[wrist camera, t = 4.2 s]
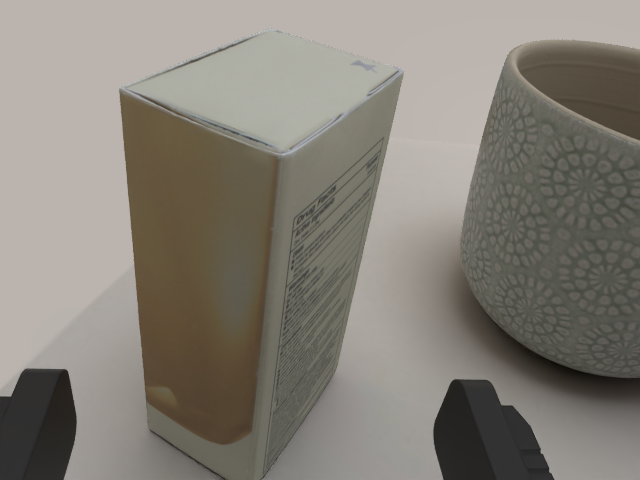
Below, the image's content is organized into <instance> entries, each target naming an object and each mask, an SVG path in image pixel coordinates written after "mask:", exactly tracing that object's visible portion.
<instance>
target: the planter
mask: <svg viewBox="0 0 640 480" xmlns="http://www.w3.org/2000/svg"><path fill="white" fill-rule="evenodd" d="M460 249H461V261H462V266H463V270H464V274H465V277H466V279H467V282H468V284H469V287H470V289H471V290H472V292H473V294H474V296H475V297H476V299H477V301H478V302H479V303H480V305H481V306H482V308H483V309H484V310H485V311H486V313H487V314H488V315H489V316H490V317H491V318H492V320H493V321H494V322H495V323H496V324H497V325H498V326H499V327H501V328H502V329H503V330H504V331H505V332H506V333H507V334H509V335H510V336H511V337H512V338H514V339H515V340H516V341H518V342H519V343H520V344H522V345H523V346H525V347H526V348H528V349H530V350H531V351H533V352H535V353H537V354H538V355H540V356H542V357H544V358H546V359H548V360H551V361H553V362H555V363H558V364H560V365H563V366H566V367H568V368H571V369H575V370H578V371H582V372H586V373H590V374H594V375H600V376H607V377H617V378H640V50H639V49H634V48H629V47H624V46H618V45H612V44H605V43H597V42H588V41H576V40H543V41H535V42H530V43H526V44H523V45H520V46H518V47H516V48H514V49H513V50H512V51H511V52H510V53H509V54H508V55H507V58H506V61H505V63H504V66H503V69H502V72H501V75H500V78H499V81H498V84H497V87H496V90H495V94H494V97H493V101H492V104H491V107H490V111H489V114H488V118H487V122H486V125H485V129H484V133H483V136H482V140H481V145H480V149H479V153H478V157H477V161H476V165H475V169H474V173H473V177H472V181H471V185H470V189H469V194H468V199H467V204H466V208H465V214H464V220H463V226H462V232H461V243H460Z"/></svg>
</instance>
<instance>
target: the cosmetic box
mask: <svg viewBox="0 0 640 480" xmlns="http://www.w3.org/2000/svg"><path fill="white" fill-rule="evenodd" d="M403 73H404V71H403V70H402V69H400V68H397V67H395V66H391V65H386V64H383V63H380V62H377V61H374V60H371V59H368V58H365V57H362V56H358V55H355V54H352V53H348V52H345V51H342V50H339V49H335V48H332V47H329V46H326V45H323V44H320V43H317V42H314V41H310V40H307V39H304V38H301V37H298V36H294V35H290V34H287V33H283V32H281V31H278V30H275V29H267V30H265V31H262V32H260V33H257V34H254V35H251V36H248V37H245V38H243V39H241V40H237V41H235V42H232V43H229V44H227V45H224V46H221V47H219V48H217V49H215V50H212V51H209V52H206V53H203V54H201V55H199V56H197V57H193V58H191V59H189V60H186V61H184V62H182V63H178V64H177V65H174V66H171V67H169V68H166V69H164V70H162V71H159V72H157V73H155V74H152V75H150V76H148V77H145V78H143V79H140V80H138V81H135V82H133V83H131V84H128V85H125V86H123V87H121V88H120V90H119V92H120V102H121V114H122V125H123V139H124V150H125V161H126V171H127V184H128V196H129V205H130V217H131V229H132V241H133V252H134V265H135V277H136V289H137V300H138V313H139V325H140V335H141V347H142V358H143V368H144V381H145V392H146V406H147V418H148V426H149V428H150V429H151V430H152V431H153V432H155V433H156V434H158V435H159V436H161V437H162V438H164V439H165V440H167V441H168V442H170V443H171V444H173V445H174V446H175V447H177V448H178V449H180V450H182V451H183V452H185V453H186V454H187V455H189V456H191V457H192V458H194V459H195V460H197V461H198V462H200V463H201V464H203V465H204V466H206V467H208V468H209V469H211V470H212V471H214V472H216V473H217V474H219V475H220V476H222V477H224V478H225V479H227V480H261V479H262V477H263V476H264V474H265V473H266V472H267V471H268V469H269V468H270V467H271V465H272V464H273V462H274V461H275V460H276V458H277V457H278V456H279V454H280V453H281V451H282V450H283V449H284V447H285V446H286V444H287V443H288V442H289V440H290V439H291V437H292V436H293V434H294V433H295V432H296V430H297V429H298V427H299V426H300V424H301V423H302V421H303V420H304V418H305V417H306V415H307V414H308V412H309V411H310V409H311V408H312V406H313V405H314V403H315V402H316V400H317V399H318V397H319V396H320V394H321V393H322V391H323V390H324V388H325V386H326V385H327V383H328V382H329V380H330V378H331V377H332V375H333V374H334V372H335V370H336V368H337V365H338V360H339V356H340V351H341V347H342V342H343V338H344V334H345V329H346V325H347V320H348V316H349V311H350V307H351V302H352V298H353V294H354V289H355V285H356V280H357V276H358V272H359V267H360V263H361V259H362V254H363V250H364V245H365V241H366V236H367V232H368V228H369V223H370V219H371V215H372V211H373V206H374V202H375V198H376V193H377V189H378V184H379V180H380V176H381V171H382V167H383V163H384V158H385V154H386V150H387V145H388V140H389V135H390V131H391V127H392V123H393V118H394V114H395V110H396V105H397V100H398V95H399V91H400V87H401V83H402V79H403Z"/></svg>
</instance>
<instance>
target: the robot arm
mask: <svg viewBox="0 0 640 480" xmlns="http://www.w3.org/2000/svg"><path fill="white" fill-rule="evenodd" d="M76 424H77V419H76V411H75V406H74V400H73V395H72V389H71V384H70V379H69V374H68V371H67V370H66V369H28V368H27V369H25V370H24V371H23V372H22V373H21V375H20V377H19V379H18V382H17V384H16V387H15V389H14V391H13V394H12V396H11V397H1V396H0V480H64V476H65V473H66V470H67V466H68V463H69V459H70V456H71V452H72V449H73V445H74V441H75V435H76ZM434 445H435V450H436V454H437V457H438V461H439V465H440V468H441V472H442V475H443V479H444V480H554V478H553V476H552V474H551V473H549V467H548V465H547V462H546V460H545V458H544V456H543V454H541V452H540V450H541V449H540V447H539V444H538V442H537V440H536V438H535V435H534V433H533V431H532V429H531V427H530V425H529V424H528V423H527V422H526V421H525V419H524V418H523V417H522V416H521V415H520V414H519V413H518V411H517V410H516V409H515V408H514V407H513V406H504V405H501V404H500V401H499V399H498V396H497V394H496V391H495V389H494V387H493V385H492V384H491V383H490V382H489V381H488V380H463V379H455V380H453V381H452V382H451V384H450V386H449V388H448V391H447V393H446V396H445V398H444V400H443V403H442V405H441V408H440V410H439V412H438V415H437V417H436V420H435V423H434Z"/></svg>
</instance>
